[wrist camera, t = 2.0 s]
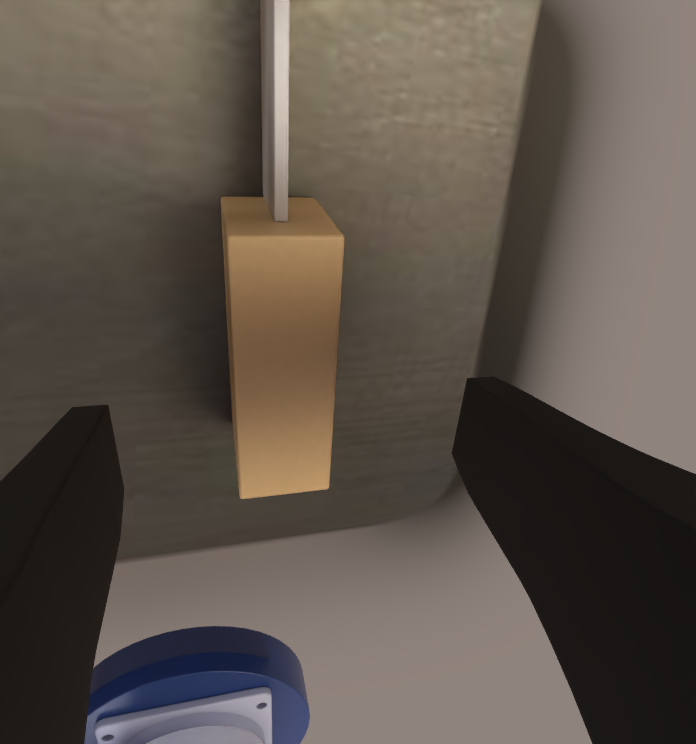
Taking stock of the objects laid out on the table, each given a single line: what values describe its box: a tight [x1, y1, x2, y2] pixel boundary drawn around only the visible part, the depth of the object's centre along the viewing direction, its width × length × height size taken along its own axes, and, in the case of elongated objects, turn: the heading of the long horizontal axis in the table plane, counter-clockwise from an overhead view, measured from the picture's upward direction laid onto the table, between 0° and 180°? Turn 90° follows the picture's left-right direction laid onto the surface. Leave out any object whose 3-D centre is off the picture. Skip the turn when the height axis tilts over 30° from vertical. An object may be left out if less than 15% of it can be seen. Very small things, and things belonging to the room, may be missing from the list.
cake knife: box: [221, 0, 345, 499], centre depth 11 cm, size 19×2×3 cm, turn 176°
